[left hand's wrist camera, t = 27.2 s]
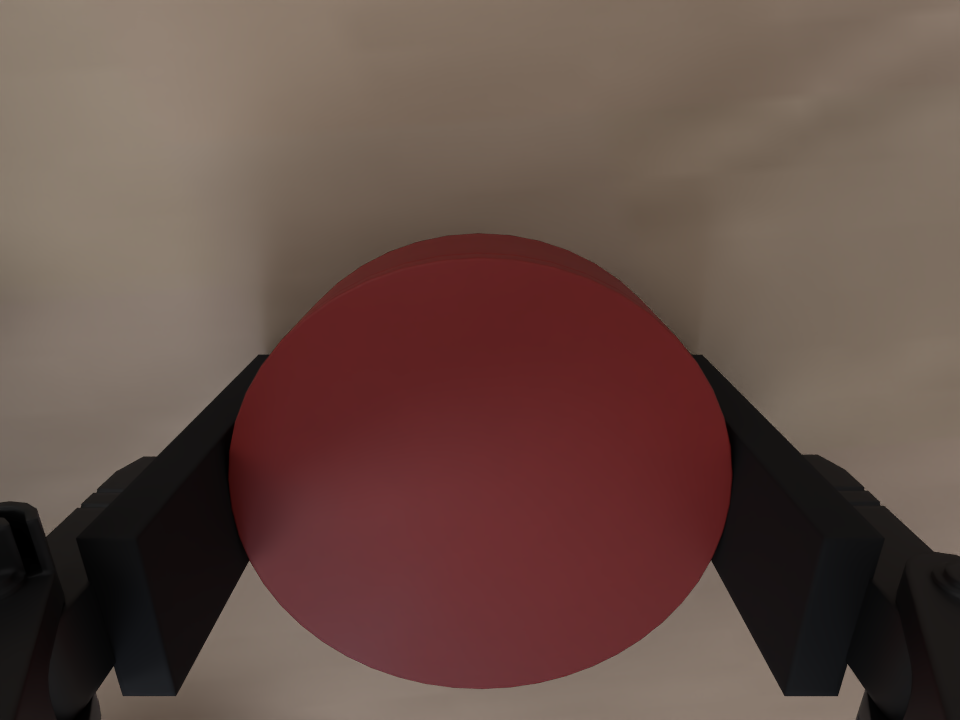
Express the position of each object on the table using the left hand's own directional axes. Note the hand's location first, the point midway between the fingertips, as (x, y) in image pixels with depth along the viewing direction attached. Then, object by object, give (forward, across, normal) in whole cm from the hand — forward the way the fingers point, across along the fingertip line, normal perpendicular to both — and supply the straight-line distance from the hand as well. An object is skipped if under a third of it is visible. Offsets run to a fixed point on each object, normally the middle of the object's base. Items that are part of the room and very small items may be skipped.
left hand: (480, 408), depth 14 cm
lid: (-4, 0, 0) cm, 4 cm away
